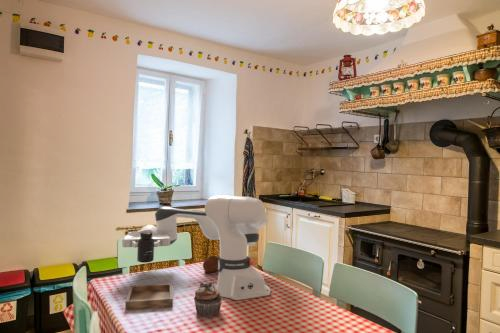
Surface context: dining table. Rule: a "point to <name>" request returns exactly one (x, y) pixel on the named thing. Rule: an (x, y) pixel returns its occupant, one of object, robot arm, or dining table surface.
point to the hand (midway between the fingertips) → (145, 245)
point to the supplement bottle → (145, 248)
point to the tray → (149, 297)
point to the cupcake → (207, 301)
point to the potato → (211, 264)
